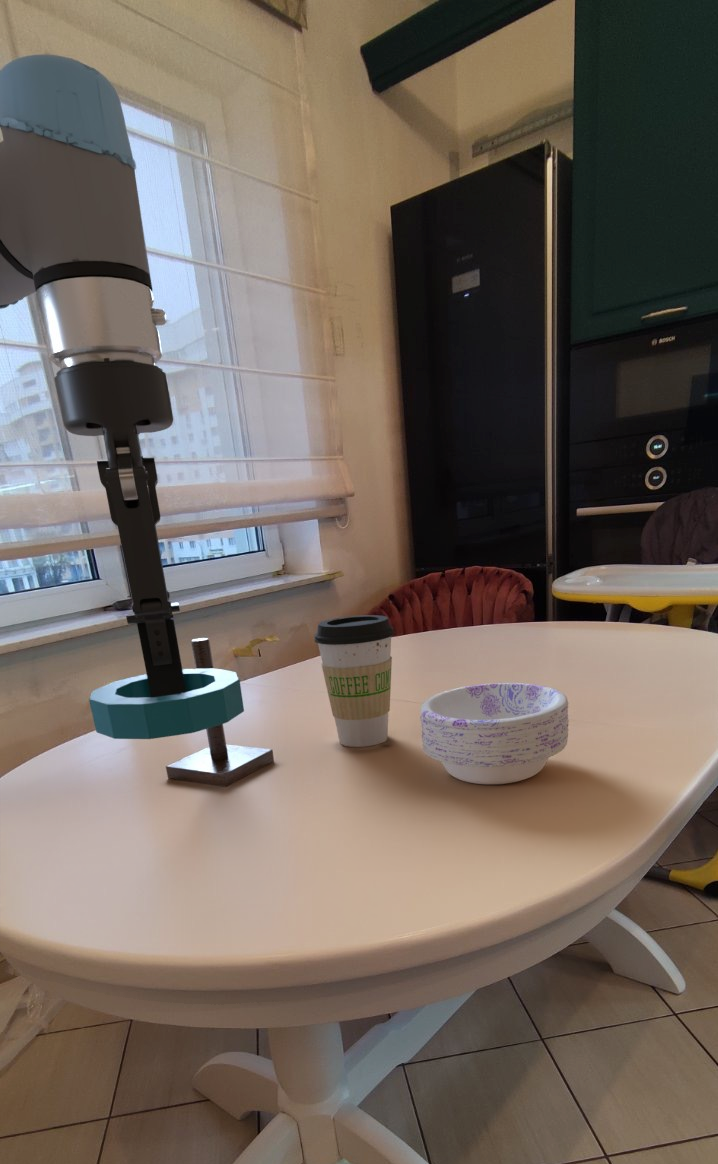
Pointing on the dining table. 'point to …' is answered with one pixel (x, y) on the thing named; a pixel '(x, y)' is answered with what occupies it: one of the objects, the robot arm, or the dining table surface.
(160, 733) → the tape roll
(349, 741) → the coffee cup
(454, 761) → the paper bowls
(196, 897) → the dining table surface
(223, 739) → the peg stand
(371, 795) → the dining table surface
